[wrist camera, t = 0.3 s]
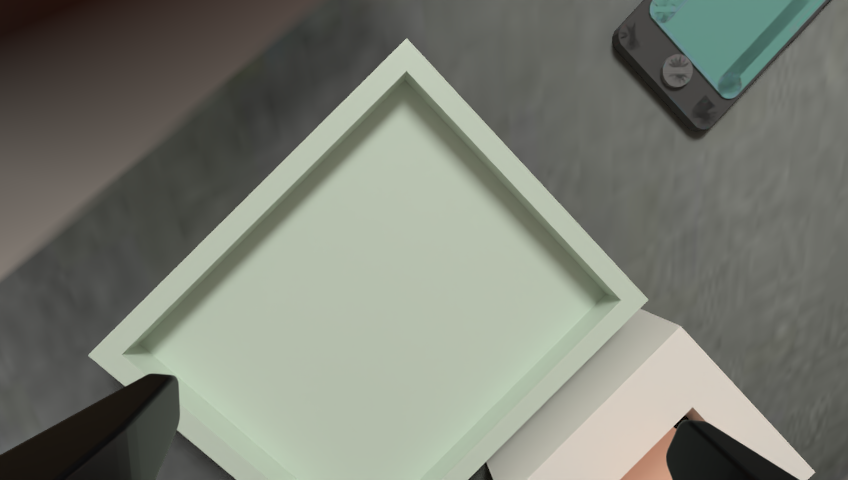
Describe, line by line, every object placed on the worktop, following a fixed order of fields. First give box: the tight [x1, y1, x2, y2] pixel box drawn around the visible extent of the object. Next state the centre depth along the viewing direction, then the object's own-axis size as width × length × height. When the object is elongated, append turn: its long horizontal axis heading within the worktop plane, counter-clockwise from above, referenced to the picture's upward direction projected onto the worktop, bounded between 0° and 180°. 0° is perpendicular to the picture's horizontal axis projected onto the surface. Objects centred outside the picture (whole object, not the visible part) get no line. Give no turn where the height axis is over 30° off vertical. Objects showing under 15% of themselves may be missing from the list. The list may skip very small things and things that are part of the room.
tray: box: [88, 38, 648, 480], centre depth 22 cm, size 20×17×2 cm
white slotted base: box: [486, 309, 815, 480], centre depth 23 cm, size 12×11×4 cm
